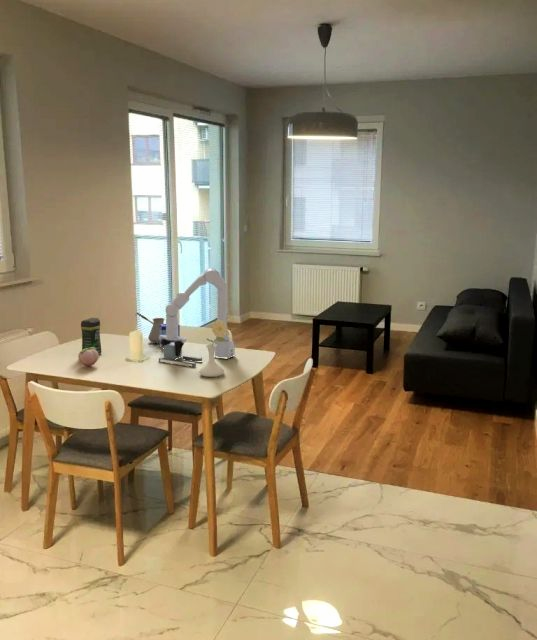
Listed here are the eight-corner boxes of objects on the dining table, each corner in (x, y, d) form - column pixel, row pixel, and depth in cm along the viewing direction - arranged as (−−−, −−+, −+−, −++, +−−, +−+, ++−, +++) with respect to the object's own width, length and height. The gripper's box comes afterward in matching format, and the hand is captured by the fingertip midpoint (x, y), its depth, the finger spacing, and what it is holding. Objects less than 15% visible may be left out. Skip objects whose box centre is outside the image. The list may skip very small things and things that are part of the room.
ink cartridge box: (162, 349, 318) (161, 321, 315) (159, 346, 323) (158, 319, 320) (180, 347, 322) (180, 320, 319) (177, 345, 327) (176, 318, 324)
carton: (181, 357, 304) (181, 343, 302) (172, 361, 296) (172, 347, 295) (172, 355, 306) (172, 342, 304) (163, 359, 299) (163, 345, 297)
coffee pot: (174, 341, 334) (173, 314, 331) (160, 346, 325) (160, 318, 322) (143, 336, 345) (142, 310, 341) (129, 341, 335) (128, 314, 332)
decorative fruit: (89, 363, 291) (88, 342, 289) (102, 365, 288) (101, 345, 285) (74, 368, 283) (73, 347, 281) (87, 370, 279) (86, 349, 277)
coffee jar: (93, 358, 300) (91, 321, 296) (79, 356, 302) (77, 319, 299) (104, 353, 309) (102, 317, 306) (90, 351, 312) (88, 316, 308)
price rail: (205, 362, 294) (205, 358, 294) (193, 367, 285) (193, 363, 285) (170, 357, 303) (170, 353, 303) (158, 362, 294) (158, 358, 294)
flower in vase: (201, 379, 267) (200, 323, 262) (197, 372, 278) (196, 318, 273) (230, 377, 271) (230, 322, 266) (225, 370, 282) (225, 317, 276)
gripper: (154, 328, 297) (155, 355, 300) (179, 331, 291) (180, 358, 294) (163, 325, 304) (164, 351, 307) (188, 328, 297) (188, 355, 300)
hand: (172, 355), depth 301 cm, fingers open, 6 cm apart
